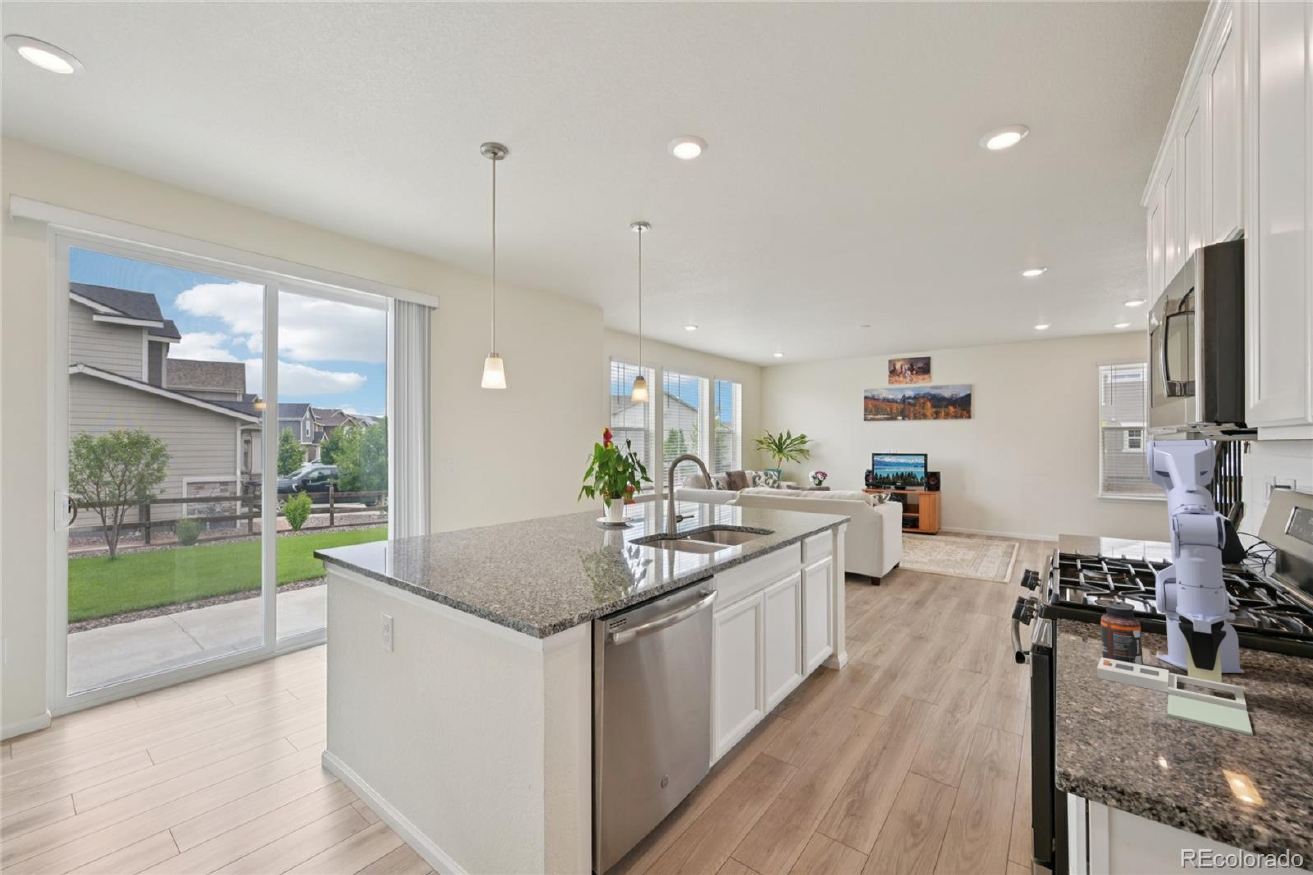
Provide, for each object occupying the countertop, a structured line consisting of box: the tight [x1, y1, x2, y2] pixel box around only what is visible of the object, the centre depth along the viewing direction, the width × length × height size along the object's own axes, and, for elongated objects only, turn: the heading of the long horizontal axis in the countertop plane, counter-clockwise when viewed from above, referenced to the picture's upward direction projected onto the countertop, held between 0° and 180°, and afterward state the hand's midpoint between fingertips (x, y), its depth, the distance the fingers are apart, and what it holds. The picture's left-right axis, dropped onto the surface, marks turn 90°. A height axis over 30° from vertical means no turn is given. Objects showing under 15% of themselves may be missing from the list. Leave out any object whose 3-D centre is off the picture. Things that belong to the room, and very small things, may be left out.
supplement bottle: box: [1100, 603, 1144, 665], centre depth 105 cm, size 6×6×11 cm
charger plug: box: [1186, 640, 1223, 683], centre depth 92 cm, size 4×4×6 cm
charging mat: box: [1166, 694, 1253, 737], centre depth 85 cm, size 9×9×1 cm
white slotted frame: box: [1096, 656, 1248, 712], centre depth 96 cm, size 18×9×2 cm, turn 46°
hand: (1203, 664), depth 92 cm, fingers closed on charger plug, 4 cm apart
